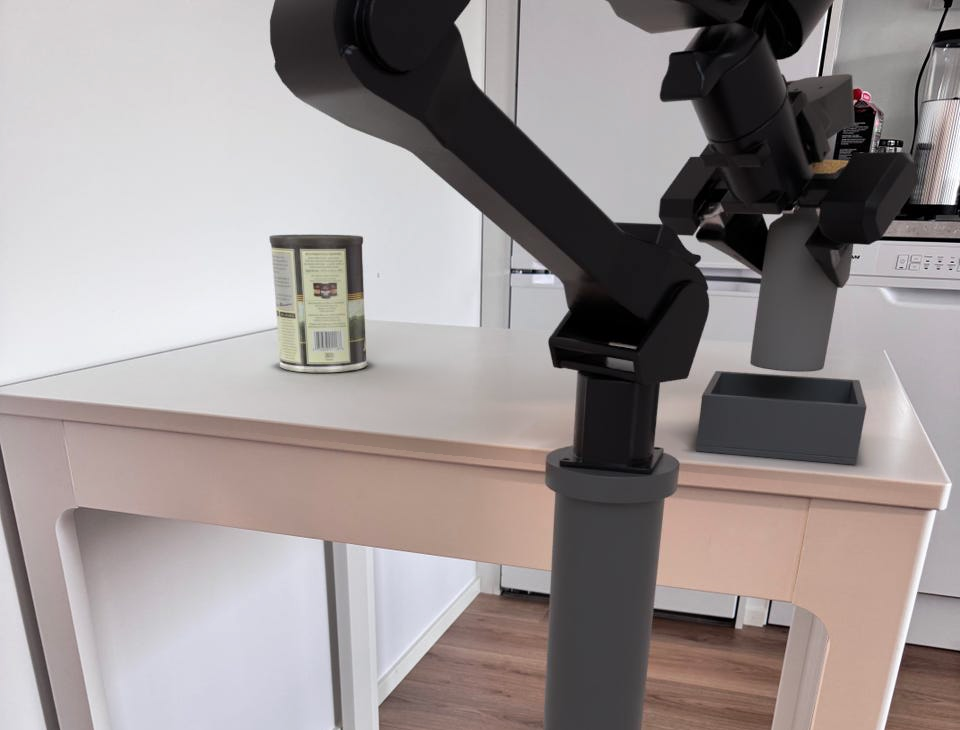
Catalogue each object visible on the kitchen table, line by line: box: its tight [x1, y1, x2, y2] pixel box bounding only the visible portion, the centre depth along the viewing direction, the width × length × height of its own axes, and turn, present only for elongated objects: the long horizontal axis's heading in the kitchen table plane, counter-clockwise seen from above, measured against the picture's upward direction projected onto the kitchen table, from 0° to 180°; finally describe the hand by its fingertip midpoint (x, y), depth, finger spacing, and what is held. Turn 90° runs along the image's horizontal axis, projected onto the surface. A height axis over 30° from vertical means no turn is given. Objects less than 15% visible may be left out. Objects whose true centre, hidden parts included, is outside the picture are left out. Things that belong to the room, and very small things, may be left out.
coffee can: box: [269, 234, 368, 374], centre depth 108 cm, size 10×10×14 cm
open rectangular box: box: [695, 370, 867, 466], centre depth 79 cm, size 12×12×4 cm
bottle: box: [749, 159, 849, 373], centre depth 74 cm, size 6×6×15 cm
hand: (809, 280), depth 75 cm, fingers closed on bottle, 6 cm apart
